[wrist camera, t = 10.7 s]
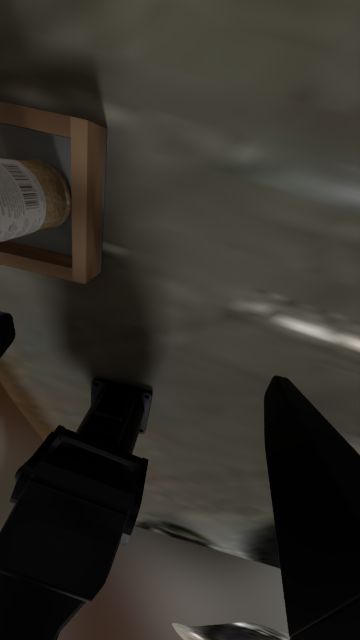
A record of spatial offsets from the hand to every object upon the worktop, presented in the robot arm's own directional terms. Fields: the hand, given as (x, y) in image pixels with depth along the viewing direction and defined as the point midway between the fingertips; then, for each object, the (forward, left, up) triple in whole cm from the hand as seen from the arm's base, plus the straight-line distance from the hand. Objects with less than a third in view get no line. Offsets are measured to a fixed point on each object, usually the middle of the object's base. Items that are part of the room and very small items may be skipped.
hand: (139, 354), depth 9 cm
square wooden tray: (+2, +12, -13) cm, 18 cm away
